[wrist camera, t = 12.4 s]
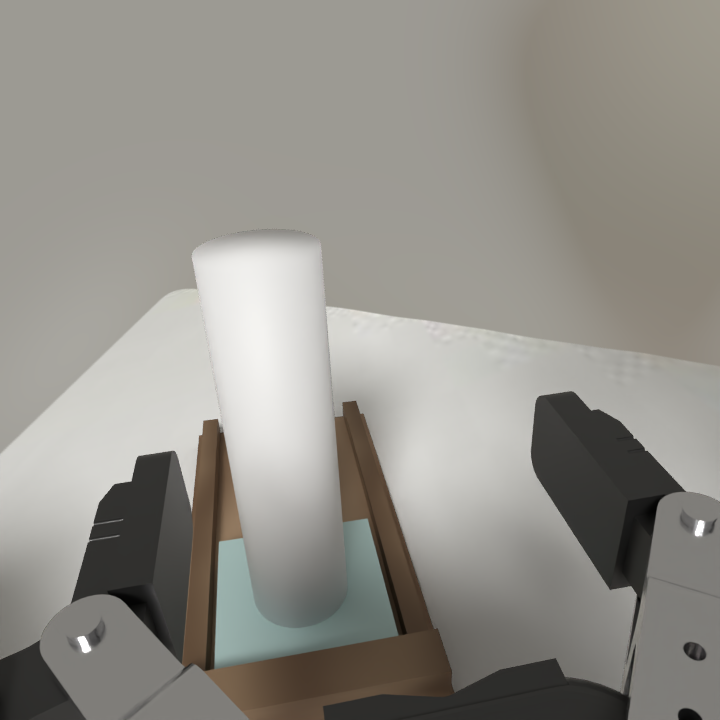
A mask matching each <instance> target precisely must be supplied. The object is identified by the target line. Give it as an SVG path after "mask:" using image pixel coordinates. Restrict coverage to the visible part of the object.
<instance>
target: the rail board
mask: <svg viewBox="0 0 720 720" xmlns="http://www.w3.org/2000/svg"><path fill="white" fill-rule="evenodd" d="M334 418H335V431H336V444H337V457H338V469H339V482H340V495H341V508H342V521H343V522H348V521H355V520H361V519H368V522H369V526H370V530H371V534H372V538H373V541H374V545H375V549H376V553H377V556H378V560H379V564H380V568H381V571H382V575H383V579H384V583H385V587H386V590H387V594H388V598H389V602H390V605H391V609H392V613H393V617H394V621H395V624H396V628H397V632H398V636H394V637H389V638H383V639H378V640H372V641H367V642H361V643H356V644H350V645H345V646H339V647H334V648H328V649H323V650H317V651H312V652H306V653H301V654H295V655H290V656H285V657H279V658H274V659H268V660H263V661H257V662H252V663H246V664H241V665H235V666H230V667H224V668H219V669H214V664H215V636H216V609H217V581H218V554H219V542H220V541H227V540H233V539H240V538H243V535H242V530H241V524H240V519H239V513H238V508H237V502H236V497H235V491H234V486H233V480H232V475H231V469H230V464H229V458H228V453H227V447H226V442H225V436H224V432H223V433H220V428H219V422H218V419H214V420H207V421H204V422H203V434H202V435H201V436H199V444H198V455H197V466H196V476H195V487H194V497H193V508H192V520H193V540H192V552H191V564H190V576H189V588H188V600H187V612H186V624H185V636H184V648H183V660H182V665H183V666H185V667H187V666H188V665H189V664H190V663H193V664H195V665H197V666H198V667H199V668H200V669H202V670H203V671H204V672H205V673H206V674H207V675H208V677H209V678H210V679H211V680H212V681H213V682H214V683H215V684H216V685H217V686H218V687H219V688H220V689H221V690H222V691H223V692H224V693H225V694H226V695H227V696H228V697H229V699H230V700H231V701H232V702H233V703H234V704H235V705H236V706H237V707H238V708H239V709H240V710H241V711H242V712H243V713H244V714H245V715H246V716H247V717H248V718H249V719H250V720H325V719H324V711H323V706H326V705H331V704H336V703H341V702H346V701H351V700H356V699H360V698H365V697H370V696H375V695H380V694H391V695H411V696H432V697H445V696H449V695H452V694H454V690H453V687H452V684H451V678H452V670H451V667H450V664H449V661H448V658H447V655H446V652H445V649H444V646H443V643H442V640H441V637H440V634H439V631H438V629H433V626H432V623H431V620H430V617H429V614H428V610H427V607H426V604H425V601H424V598H423V595H422V592H421V589H420V586H419V583H418V580H417V577H416V574H415V571H414V568H413V564H412V561H411V558H410V555H409V552H408V549H407V546H406V543H405V540H404V537H403V534H402V531H401V528H400V525H399V522H398V518H397V515H396V512H395V509H394V506H393V503H392V500H391V497H390V494H389V491H388V488H387V485H386V482H385V479H384V476H383V473H382V469H381V466H380V463H379V460H378V457H377V454H376V451H375V448H374V445H373V442H372V439H371V436H370V433H369V430H368V427H367V423H366V420H365V417H364V414H360V412H359V409H358V406H357V403H356V401H351V402H343V416H342V417H334Z"/></svg>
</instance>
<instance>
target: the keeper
mask: <svg viewBox="0 0 720 720" xmlns="http://www.w3.org/2000/svg"><path fill="white" fill-rule="evenodd" d="M192 261H193V266H194V272H195V277H196V283H197V287H198V294H199V299H200V305H201V310H202V316H203V321H204V327H205V332H206V337H207V343H208V348H209V354H210V359H211V365H212V370H213V376H214V381H215V387H216V392H217V398H218V403H219V409H220V414H221V420H222V425H223V431H224V436H225V442H226V447H227V453H228V458H229V464H230V469H231V475H232V480H233V486H234V491H235V497H236V502H237V508H238V513H239V519H240V524H241V530H242V535H243V538H240V539H233V540H227V541H220V542H219V554H218V581H217V609H216V636H215V664H214V669H219V668H224V667H230V666H235V665H241V664H246V663H252V662H257V661H263V660H268V659H274V658H279V657H285V656H290V655H295V654H301V653H306V652H312V651H317V650H323V649H328V648H334V647H339V646H345V645H350V644H356V643H361V642H367V641H372V640H378V639H383V638H389V637H394V636H398V632H397V628H396V624H395V621H394V617H393V613H392V609H391V605H390V602H389V598H388V594H387V590H386V587H385V583H384V579H383V575H382V571H381V568H380V564H379V560H378V556H377V553H376V549H375V545H374V541H373V538H372V534H371V530H370V526H369V522H368V519H361V520H355V521H348V522H343V521H342V508H341V495H340V482H339V469H338V457H337V444H336V431H335V418H334V405H333V393H332V380H331V367H330V354H329V342H328V329H327V316H326V303H325V292H324V278H323V265H322V252H321V242H320V240H319V239H318V238H317V237H315V236H313V235H311V234H308V233H305V232H301V231H295V230H285V229H262V230H251V231H244V232H238V233H233V234H228V235H224V236H221V237H217V238H214V239H212V240H209V241H207V242H205V243H203V244H201V245H200V246H198V247H197V248H196V249H195V250H194V251H193V253H192Z"/></svg>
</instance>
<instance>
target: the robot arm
mask: <svg viewBox="0 0 720 720" xmlns="http://www.w3.org/2000/svg"><path fill="white" fill-rule="evenodd" d="M531 458H532V464H533V468H534V471H535V473H536V476H537V478H538V479H539V481H540V482H541V484H542V485H543V487H544V489H545V490H546V492H547V493H548V495H549V496H550V498H551V499H552V501H553V502H554V504H555V505H556V507H557V509H558V510H559V512H560V513H561V515H562V516H563V518H564V519H565V521H566V522H567V524H568V526H569V527H570V529H571V530H572V532H573V533H574V535H575V536H576V538H577V539H578V541H579V543H580V544H581V546H582V547H583V549H584V550H585V552H586V553H587V555H588V556H589V558H590V559H591V561H592V563H593V564H594V566H595V567H596V569H597V570H598V572H599V573H600V575H601V576H602V578H603V580H604V581H605V583H606V584H607V586H608V587H609V589H610V590H612V589H617V588H622V587H628V586H632V588H633V589H634V591H635V592H636V594H637V596H636V601H635V605H634V611H633V617H632V623H631V629H630V635H629V641H628V647H627V653H626V660H625V666H624V672H623V678H622V683H621V688H620V692H618V691H616V690H614V689H611V688H609V687H606V686H604V685H601V684H598V683H594V682H591V681H587V680H582V679H576V678H569V677H565V676H564V674H563V672H562V670H561V668H560V666H559V664H558V662H557V660H556V658H555V659H550V660H545V661H540V662H536V663H531V664H526V665H521V666H516V667H511V668H506V669H502V670H499V671H497V672H495V673H493V674H491V675H489V676H487V677H485V678H483V679H481V680H479V681H477V682H475V683H473V684H472V685H470V686H468V687H466V688H464V689H462V690H460V691H458V692H456V693H454V694H452V695H449V696H445V697H432V696H411V695H391V694H380V695H375V696H370V697H365V698H360V699H356V700H351V701H346V702H341V703H336V704H331V705H326V706H323V711H324V719H325V720H720V502H719V501H717V500H715V499H713V498H711V497H708V496H706V495H702V494H698V493H693V492H686V491H685V490H684V489H683V488H682V487H681V486H680V485H679V484H678V483H677V482H676V481H675V480H674V479H673V478H672V476H671V475H670V474H669V473H668V472H667V471H666V470H665V469H664V468H663V467H662V466H661V465H660V464H659V463H658V462H657V460H656V459H655V458H654V457H653V456H652V455H651V454H650V453H649V452H648V451H645V448H644V447H643V446H642V444H641V443H640V442H639V441H638V440H637V439H634V438H633V435H632V434H631V433H630V432H629V431H628V430H627V429H626V427H625V426H624V425H623V424H622V423H621V422H620V421H619V420H617V419H615V418H613V417H611V416H610V415H608V414H606V413H604V412H602V411H601V410H599V409H598V410H592V411H591V410H590V409H589V408H588V407H587V406H586V405H585V403H584V402H583V401H582V400H581V399H580V398H579V397H578V396H577V395H576V394H575V393H574V392H572V391H570V392H563V393H557V394H550V395H544V396H539V397H538V398H537V400H536V404H535V414H534V425H533V435H532V446H531ZM89 540H90V542H89V543H88V545H87V548H86V552H85V555H84V559H83V562H82V566H81V570H80V573H79V577H78V580H77V584H76V587H75V591H74V595H73V598H72V602H71V604H70V605H68V606H66V607H65V608H64V609H62V610H61V611H60V612H59V613H58V614H56V615H55V616H54V617H53V618H52V620H51V621H50V622H49V623H48V625H47V626H46V628H45V629H44V632H43V634H42V636H41V640H40V641H38V642H36V643H35V644H33V645H32V646H30V647H28V648H26V649H24V650H21V651H19V652H17V653H15V654H12V655H10V656H8V657H6V658H3V659H1V660H0V720H250V719H249V718H248V717H247V716H246V715H245V714H244V713H243V712H242V711H241V710H240V709H239V708H238V707H237V706H236V705H235V704H234V703H233V702H232V701H231V700H230V699H229V697H228V696H227V695H226V694H225V693H224V692H223V691H222V690H221V689H220V688H219V687H218V686H217V685H216V684H215V683H214V682H213V681H212V680H211V679H210V678H209V677H208V675H207V674H206V673H205V672H204V671H203V670H202V669H200V668H199V667H198V666H197V665H195V664H193V663H190V664H189V665H188V666H187V667H185V666H183V665H182V660H183V648H184V636H185V624H186V612H187V600H188V588H189V576H190V564H191V552H192V540H193V520H192V512H191V507H190V502H189V499H188V495H187V491H186V487H185V483H184V479H183V476H182V472H181V468H180V464H179V460H178V457H177V454H176V452H175V451H169V452H162V453H156V454H149V455H143V456H138V457H137V460H136V464H135V468H134V473H133V477H132V482H125V483H119V484H114V485H113V486H112V488H111V489H110V490H109V491H108V493H107V494H106V495H105V496H104V498H103V499H102V500H101V501H100V503H99V505H98V509H97V512H96V516H95V520H94V526H93V527H92V530H91V534H90V537H89Z"/></svg>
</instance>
